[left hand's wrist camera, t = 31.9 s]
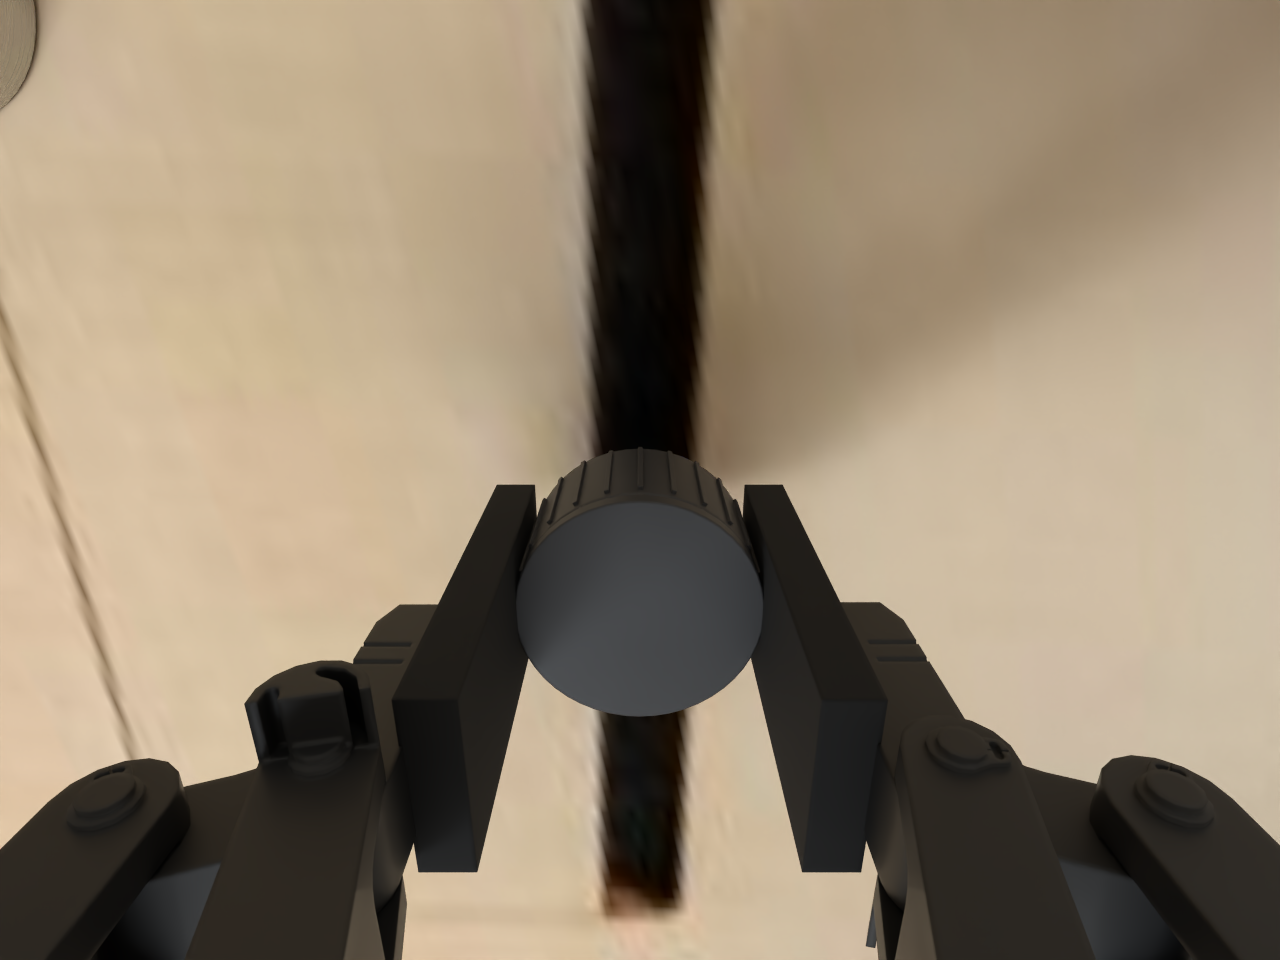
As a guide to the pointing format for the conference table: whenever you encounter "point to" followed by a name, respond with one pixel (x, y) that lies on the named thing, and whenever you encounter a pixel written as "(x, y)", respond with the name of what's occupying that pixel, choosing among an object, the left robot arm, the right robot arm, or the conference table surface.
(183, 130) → the conference table surface
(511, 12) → the conference table surface
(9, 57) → the bottle
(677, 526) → the cap
